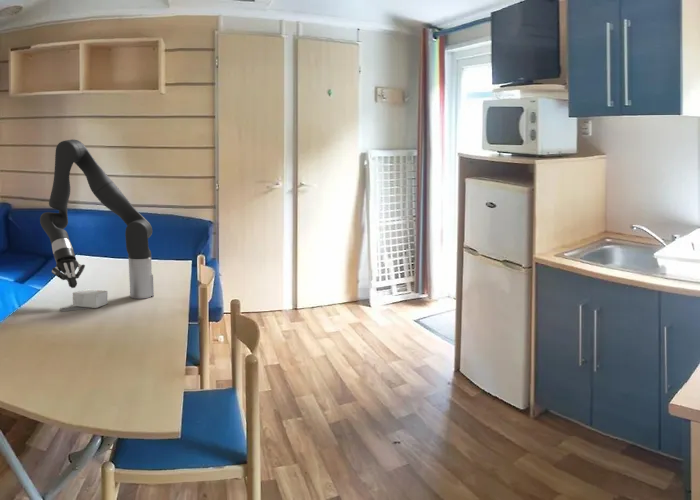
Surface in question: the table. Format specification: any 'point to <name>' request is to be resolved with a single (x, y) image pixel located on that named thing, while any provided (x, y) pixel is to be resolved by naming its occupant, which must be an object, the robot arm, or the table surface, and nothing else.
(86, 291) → the small box
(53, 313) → the table surface
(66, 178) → the robot arm
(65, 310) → the charcoal mat
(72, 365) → the table surface
